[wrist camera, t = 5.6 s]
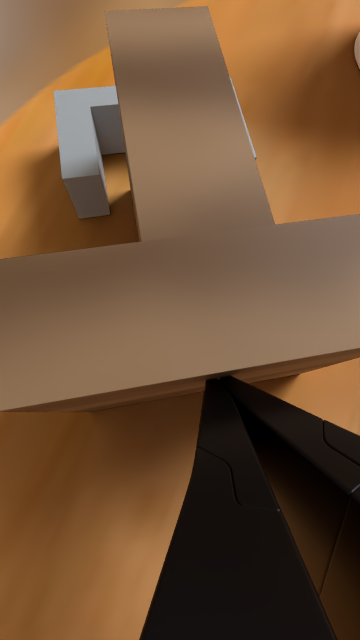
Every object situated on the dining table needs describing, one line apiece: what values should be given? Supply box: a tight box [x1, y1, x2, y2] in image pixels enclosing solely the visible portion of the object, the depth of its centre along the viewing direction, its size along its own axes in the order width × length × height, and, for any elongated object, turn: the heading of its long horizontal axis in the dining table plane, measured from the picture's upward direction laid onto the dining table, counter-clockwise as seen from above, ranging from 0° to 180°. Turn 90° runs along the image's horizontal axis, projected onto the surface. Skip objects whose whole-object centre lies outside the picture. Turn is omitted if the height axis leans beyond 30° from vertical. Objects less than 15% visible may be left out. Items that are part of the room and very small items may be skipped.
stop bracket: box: [54, 77, 256, 219], centre depth 19 cm, size 6×11×4 cm, turn 101°
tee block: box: [0, 6, 360, 412], centre depth 14 cm, size 14×12×10 cm
